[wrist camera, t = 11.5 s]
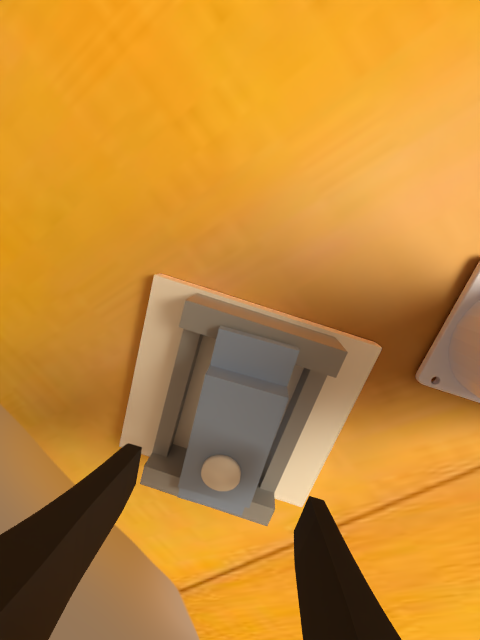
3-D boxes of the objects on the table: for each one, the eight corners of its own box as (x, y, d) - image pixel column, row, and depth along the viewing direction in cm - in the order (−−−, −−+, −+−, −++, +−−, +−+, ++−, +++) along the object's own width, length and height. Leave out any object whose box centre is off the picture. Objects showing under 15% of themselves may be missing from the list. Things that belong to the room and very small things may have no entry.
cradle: (375, 342, 15) (403, 364, 12) (300, 494, 19) (307, 542, 16) (160, 273, 16) (134, 278, 12) (126, 436, 19) (98, 473, 16)
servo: (292, 332, 15) (303, 362, 11) (245, 473, 18) (239, 540, 14) (227, 313, 15) (213, 337, 11) (191, 457, 18) (169, 519, 14)
